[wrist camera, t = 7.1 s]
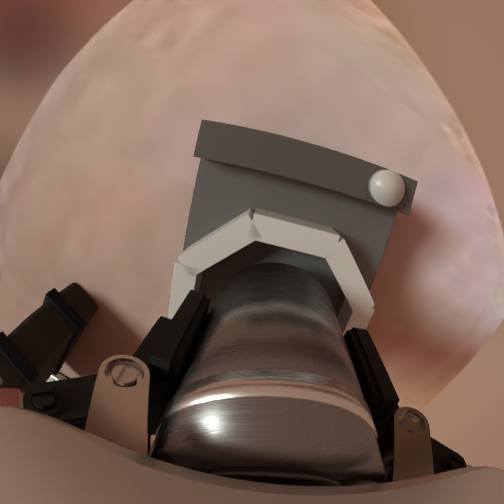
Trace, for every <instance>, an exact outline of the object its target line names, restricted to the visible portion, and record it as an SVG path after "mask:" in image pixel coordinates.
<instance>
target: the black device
mask: <svg viewBox="0 0 504 504" xmlns="http://www.w3.org/2000/svg"><path fill="white" fill-rule="evenodd" d="M96 309H97V305H96V304H95V303H94V302H93V301H92V300H91V299H90V298H89V297H88V296H87V295H86V294H85V292H84V291H83V290H82V289H81V288H80V287H79V286H78V285H77V284H76V283H72V284H70V285H69V286H67V287H66V288H65V289H63V290H62V291H61V292H58V291H57V290H56V289H55V288H53V289H52V290H51V291H49V292H48V293H46V296H45V299H44V302H43V305H42V306H41V307H40V308H38V309H37V310H36V311H35V312H33V313H32V314H31V315H30V316H29V317H27V318H26V319H25V320H24V321H23V322H22V323H21V324H20V325H19V326H18V327H17V328H16V329H14V330H13V331H12V332H11V333H10V334H9V335H8V336H6V335H5V334H4V332H3V331H2V332H1V333H0V388H19V389H20V391H21V392H25V391H26V390H27V389H28V388H29V387H30V386H32V385H34V384H37V383H41V382H46V381H47V380H48V378H49V377H50V376H51V375H52V374H54V375H55V376H56V375H57V374H58V373H59V371H60V369H61V367H62V365H63V363H64V362H65V360H66V358H67V356H68V354H69V353H70V351H71V349H72V347H73V346H74V344H75V342H76V341H77V339H78V337H79V336H80V334H81V332H82V331H83V329H84V328H85V326H86V325H87V323H88V322H89V320H90V319H91V317H92V316H93V314H94V313H95V311H96Z"/></svg>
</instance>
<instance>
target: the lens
mask: <svg viewBox="0 0 504 504" xmlns="http://www.w3.org/2000/svg"><path fill="white" fill-rule="evenodd" d="M149 457H152V458H155V459H158V460H161V461H164V462H167V463H170V464H173V465H177V466H180V467H184V468H188V469H191V470H195V471H199V472H204V473H208V474H212V475H217V476H222V477H227V478H233V479H239V480H245V481H252V482H260V483H268V484H279V485H292V486H355V485H368V484H379V483H383V481H384V478H385V470H384V466H383V462H382V458H381V454H380V451H379V447H378V436H377V432H376V428H375V425H374V421H373V418H372V415H371V412H370V409H369V407H368V405H367V403H366V402H365V399H364V396H363V393H362V390H361V387H360V383H359V380H358V377H357V374H356V371H355V368H354V365H353V362H352V359H351V356H350V353H349V351H348V348H347V345H346V342H345V339H344V336H343V334H342V331H341V328H340V325H339V322H338V320H337V317H336V314H335V312H334V309H333V306H332V304H331V301H330V298H329V296H328V294H327V292H326V290H325V289H324V287H323V286H322V284H321V283H320V282H319V281H318V280H317V279H316V278H315V277H313V276H312V275H311V274H309V273H308V272H306V271H305V270H303V269H300V268H298V267H296V266H292V265H289V264H284V263H273V262H271V263H260V264H255V265H252V266H249V267H246V268H244V269H242V270H240V271H238V272H236V273H235V274H233V275H232V276H231V277H230V278H228V279H227V280H226V281H225V282H224V284H223V285H222V286H221V287H220V289H219V290H218V292H217V294H216V296H215V299H214V301H213V303H212V305H211V308H210V310H209V312H208V315H207V317H206V319H205V322H204V324H203V326H202V329H201V331H200V333H199V336H198V338H197V340H196V343H195V345H194V347H193V350H192V352H191V354H190V357H189V359H188V362H187V364H186V366H185V369H184V371H183V373H182V376H181V378H180V380H179V383H178V385H177V388H176V390H175V392H174V395H173V397H172V398H171V399H170V401H169V402H168V404H167V406H166V409H165V411H164V413H163V416H162V418H161V420H160V423H159V425H158V428H157V430H156V437H155V441H154V443H153V446H152V448H151V451H150V453H149Z"/></svg>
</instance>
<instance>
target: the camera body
mask: <svg viewBox="0 0 504 504" xmlns="http://www.w3.org/2000/svg"><path fill="white" fill-rule="evenodd" d="M194 157H199V158H201V160H200V164H199V169H198V173H197V178H196V183H195V188H194V193H193V198H192V203H191V208H190V214H189V219H188V225H187V230H186V236H185V242H184V248H183V253H182V254H181V255H180V256H179V257H178V259H177V260H176V261H175V263H174V270H173V277H172V285H171V293H170V302H169V311H168V318H169V319H172V318H173V316H174V315H175V313H176V312H177V310H178V308H179V307H180V305H181V304H182V302H183V301H184V299H185V297H186V296H187V294H188V293H189V291H190V290H195V291H198V292H202V293H205V297H206V298H210V303H209V308H208V312H209V310H210V308H211V305H212V303H213V301H214V299H215V296H216V294H217V292H218V290H219V289H220V287H221V286H222V285H223V284H224V282H225V281H226V280H227V279H228V278H230V277H231V276H232V275H233V274H235V273H236V272H238V271H240V270H242V269H244V268H246V267H249V266H252V265H255V264H260V263H271V262H273V263H284V264H289V265H292V266H296V267H298V268H300V269H303V270H305V271H306V272H308V273H309V274H311V275H312V276H313V277H315V278H316V279H317V280H318V281H319V282H320V283H321V284H322V286H323V287H324V289H325V290H326V292H327V294H328V296H329V298H330V301H331V304H332V306H333V309H334V312H335V314H336V317H337V320H338V322H339V325H340V328H341V331H342V334H343V336H344V334H345V332H346V331H347V330H351V329H352V328H353V327H355V328H360V329H366V328H367V326H368V324H369V322H370V320H371V318H372V315H373V313H374V311H375V309H374V308H373V306H375V304H374V302H373V299H372V297H371V295H370V292H369V290H370V287H371V285H372V282H373V280H374V277H375V275H376V272H377V269H378V267H379V264H380V261H381V258H382V256H383V253H384V250H385V247H386V244H387V241H388V238H389V235H390V232H391V229H392V226H393V222H394V219H395V216H396V212H397V211H398V212H400V213H403V214H406V215H409V212H410V208H411V205H412V201H413V198H414V194H415V190H416V186H417V181H415V180H413V179H410V178H408V177H406V176H403V175H401V174H398V173H396V172H395V171H392V170H388V169H386V168H383V167H380V166H378V165H375V164H372V163H370V162H367V161H364V160H361V159H358V158H355V157H352V156H349V155H346V154H343V153H340V152H337V151H334V150H331V149H328V148H324V147H321V146H318V145H314V144H311V143H307V142H304V141H300V140H296V139H292V138H289V137H285V136H281V135H277V134H273V133H268V132H264V131H260V130H255V129H250V128H246V127H241V126H236V125H230V124H225V123H220V122H214V121H208V120H202V122H201V126H200V130H199V134H198V138H197V143H196V147H195V151H194ZM207 315H208V313H207Z"/></svg>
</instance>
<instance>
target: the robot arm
mask: <svg viewBox="0 0 504 504" xmlns="http://www.w3.org/2000/svg"><path fill="white" fill-rule="evenodd" d="M209 303H210V298H206V297H205V293H202V292H198V291H195V290H190V291H189V293H188V294H187V296H186V297H185V299H184V301H183V302H182V304H181V305H180V307H179V308H178V310H177V312H176V313H175V315H174V316H173V318H172V319H169V318H166V317H160V318H159V319H158V320H157V322H156V323H155V325H154V326H153V327H152V329H151V330H150V332H149V333H148V335H147V336H146V337H145V339H144V340H143V342H142V343H141V345H140V346H139V348H138V349H137V350H136V352H135V353H134V355H133V356H129V355H115V356H112V357H109V358H107V359H106V360H105V361H103V362H102V364H101V366H100V368H99V371H98V374H96V375H91V376H84V377H78V378H71V379H67V378H66V377H64V376H63V375H61V374H59V373H58V374H57V375H56V376H55V375H54V374H52V375H51V376H50V377H49V378H48V380H47V381H46V382H41V383H37V384H34V385H32V386H30V387H29V388H28V389H27V390H26V391H25V392H21V391H20V389H19V388H0V504H504V470H502V469H498V468H495V467H486V466H482V467H472V466H470V465H467V466H466V463H465V460H464V459H463V457H461V456H460V455H459V454H458V453H456V452H454V451H453V450H451V449H449V448H448V447H446V446H444V445H443V444H441V443H440V442H438V441H436V440H435V439H433V438H431V437H430V429H429V424H428V421H427V419H426V417H425V416H424V415H423V414H422V413H421V412H420V411H418V410H416V409H414V408H411V407H401V408H399V406H398V402H399V401H400V400H399V398H398V396H397V393H396V391H395V389H394V386H393V384H392V382H391V380H390V377H389V375H388V373H387V371H386V369H385V366H384V364H383V362H382V360H381V358H380V356H379V354H378V352H377V349H376V347H375V345H374V343H373V341H372V339H371V337H370V335H369V333H368V331H367V330H366V329H360V328H355V327H353V328H352V329H351V330H347V331H346V332H345V334H344V339H345V342H346V345H347V348H348V351H349V353H350V356H351V359H352V362H353V365H354V368H355V371H356V374H357V377H358V380H359V383H360V387H361V390H362V393H363V396H364V399H365V402H366V403H367V405H368V407H369V409H370V412H371V415H372V418H373V421H374V425H375V428H376V432H377V436H378V447H379V451H380V454H381V458H382V462H383V466H384V470H385V478H384V481H383V483H379V484H368V485H355V486H292V485H279V484H268V483H260V482H252V481H245V480H239V479H233V478H227V477H222V476H217V475H212V474H208V473H204V472H199V471H195V470H191V469H188V468H184V467H180V466H177V465H173V464H170V463H167V462H164V461H161V460H158V459H155V458H152V457H149V453H150V451H151V435H154V434H156V430H157V428H158V425H159V423H160V420H161V418H162V416H163V413H164V411H165V409H166V406H167V404H168V402H169V401H170V399H171V398H172V397H173V395H174V392H175V390H176V388H177V385H178V383H179V380H180V378H181V376H182V373H183V371H184V369H185V366H186V364H187V362H188V359H189V357H190V354H191V352H192V350H193V347H194V345H195V343H196V340H197V338H198V336H199V333H200V331H201V329H202V326H203V324H204V322H205V319H206V317H207V313H208V308H209Z"/></svg>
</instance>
